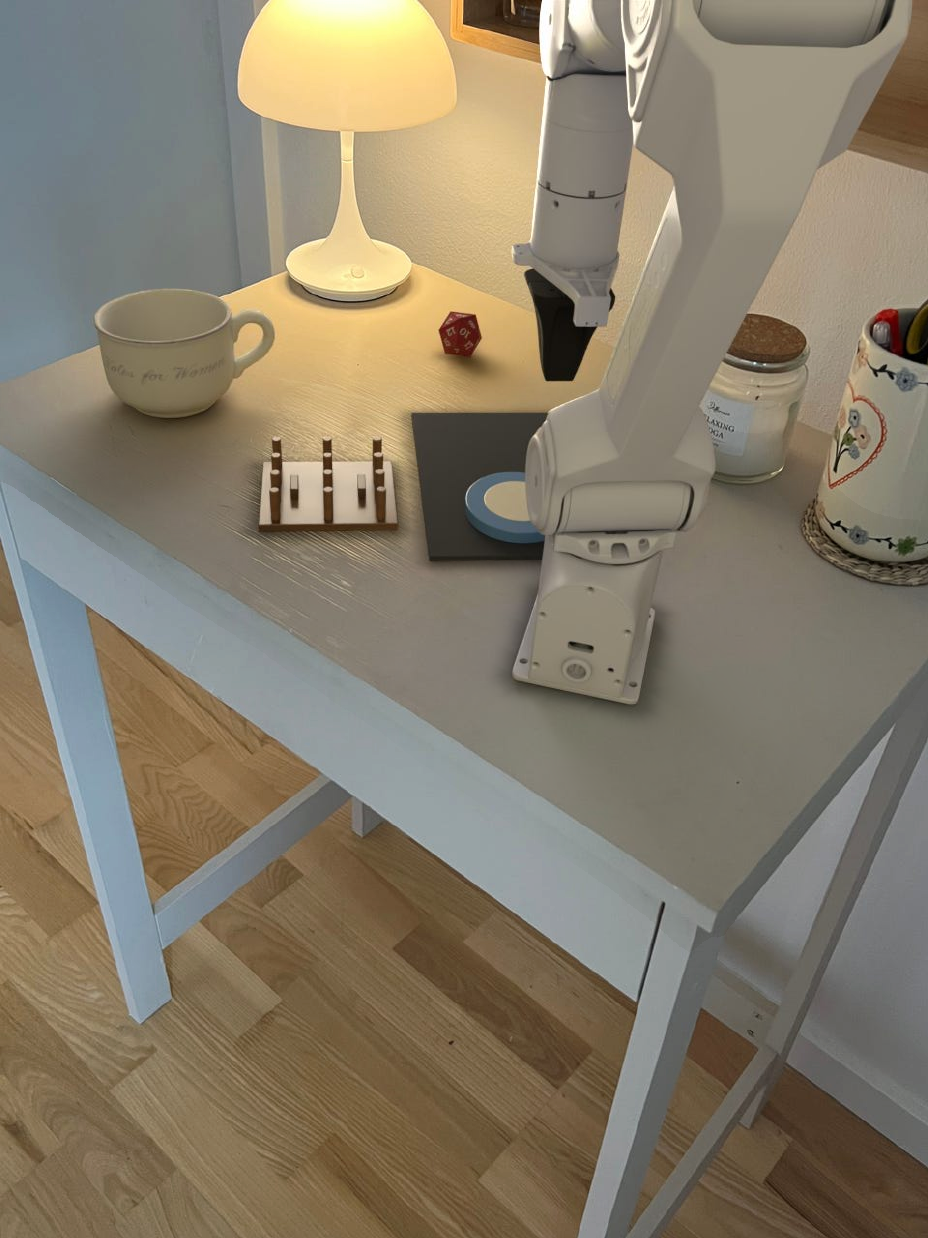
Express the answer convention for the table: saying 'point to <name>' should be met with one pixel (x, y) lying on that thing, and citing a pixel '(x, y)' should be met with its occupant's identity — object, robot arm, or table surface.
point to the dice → (460, 334)
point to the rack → (327, 493)
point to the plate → (501, 508)
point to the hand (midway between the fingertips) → (557, 376)
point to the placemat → (468, 477)
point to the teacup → (174, 349)
